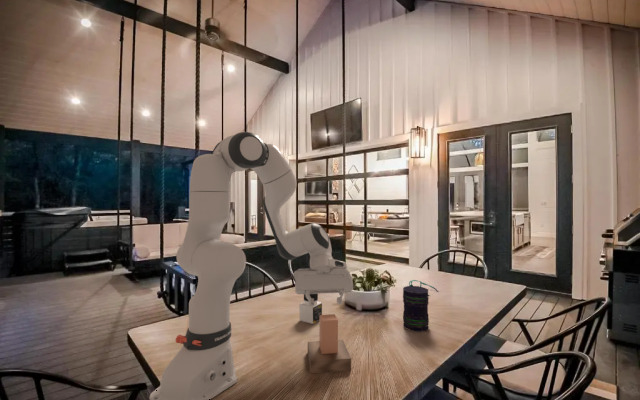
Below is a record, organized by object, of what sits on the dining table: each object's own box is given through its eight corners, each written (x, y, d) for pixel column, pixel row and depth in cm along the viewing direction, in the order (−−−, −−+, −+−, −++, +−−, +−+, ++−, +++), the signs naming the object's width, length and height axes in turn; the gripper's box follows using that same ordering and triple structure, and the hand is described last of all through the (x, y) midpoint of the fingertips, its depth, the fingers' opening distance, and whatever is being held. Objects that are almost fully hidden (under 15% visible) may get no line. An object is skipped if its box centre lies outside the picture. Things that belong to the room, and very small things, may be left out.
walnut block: (310, 375, 84) (310, 361, 84) (307, 353, 96) (307, 341, 96) (351, 372, 85) (351, 358, 86) (343, 351, 97) (342, 339, 97)
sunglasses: (416, 286, 174) (417, 278, 174) (440, 294, 163) (441, 285, 163) (403, 291, 165) (404, 282, 164) (428, 300, 154) (429, 291, 153)
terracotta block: (337, 353, 88) (337, 319, 89) (321, 354, 88) (321, 320, 88) (334, 345, 93) (334, 314, 94) (319, 346, 93) (319, 314, 93)
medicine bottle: (313, 324, 118) (313, 295, 119) (299, 320, 122) (299, 292, 122) (322, 318, 124) (322, 290, 125) (308, 315, 128) (308, 288, 128)
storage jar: (405, 319, 123) (405, 284, 123) (429, 324, 118) (429, 287, 119) (401, 329, 114) (400, 291, 114) (427, 333, 109) (427, 294, 110)
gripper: (293, 264, 102) (294, 300, 92) (350, 262, 105) (357, 298, 95) (293, 273, 106) (294, 309, 97) (347, 272, 109) (354, 307, 99)
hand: (325, 304), depth 96 cm, fingers open, 8 cm apart
